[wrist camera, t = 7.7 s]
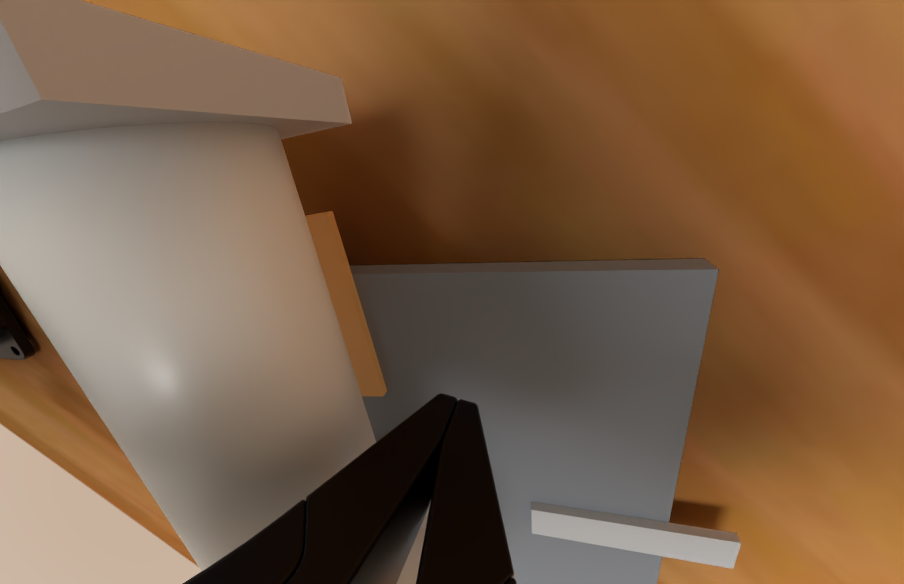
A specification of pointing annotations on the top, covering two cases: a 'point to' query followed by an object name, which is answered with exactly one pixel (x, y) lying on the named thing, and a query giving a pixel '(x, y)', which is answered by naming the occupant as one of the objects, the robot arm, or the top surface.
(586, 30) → the top surface
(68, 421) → the top surface
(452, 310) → the grey square panel
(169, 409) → the elbow
